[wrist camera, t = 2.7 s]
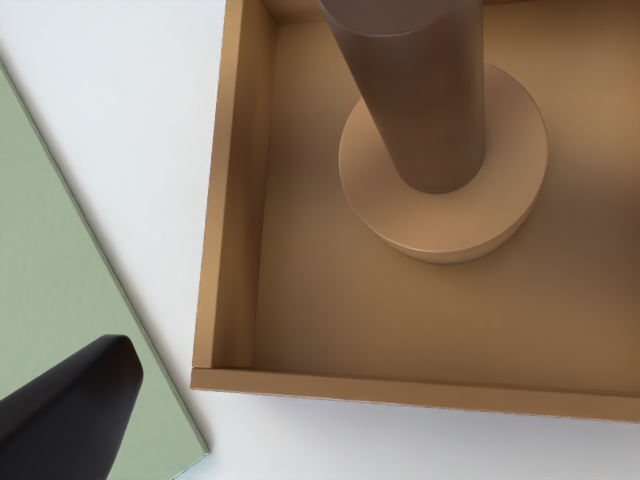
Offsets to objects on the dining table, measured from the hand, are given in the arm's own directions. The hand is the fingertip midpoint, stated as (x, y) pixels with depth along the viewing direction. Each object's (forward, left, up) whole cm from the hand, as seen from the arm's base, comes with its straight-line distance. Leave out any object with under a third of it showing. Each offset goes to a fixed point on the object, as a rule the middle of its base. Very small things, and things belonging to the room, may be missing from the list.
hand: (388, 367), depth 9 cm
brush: (+5, -4, -12) cm, 14 cm away
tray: (+5, -4, -13) cm, 14 cm away
